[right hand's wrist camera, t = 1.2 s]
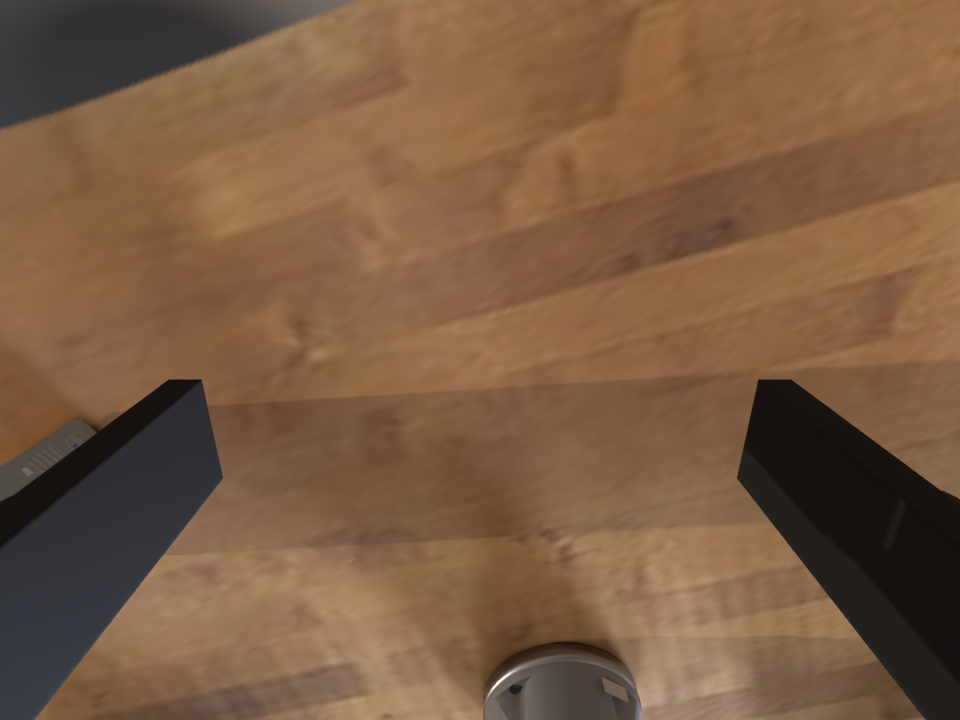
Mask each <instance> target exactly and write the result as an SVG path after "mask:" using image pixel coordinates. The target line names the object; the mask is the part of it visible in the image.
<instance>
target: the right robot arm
mask: <svg viewBox="0 0 960 720" xmlns="http://www.w3.org/2000/svg"><path fill="white" fill-rule="evenodd" d="M222 479H223V476H222V471H221V467H220V462H219V458H218V453H217V448H216V444H215V439H214V435H213V430H212V426H211V421H210V416H209V412H208V407H207V403H206V398H205V393H204V389H203V384H202V380H168V381H166V382H165V383H164V384H162V385H161V386H160V387H158V388H157V389H156V390H154V391H153V392H152V393H150V394H149V395H147V396H146V397H145V398H143V399H142V400H141V401H139V402H138V403H137V404H135V405H134V406H133V407H131V408H130V409H129V410H127V411H126V412H125V413H123V414H122V415H121V416H119V417H118V418H116V419H115V420H114V421H112V422H111V423H110V424H108V425H107V426H106V427H104V428H103V429H102V430H100V431H99V432H98V433H96V434H95V435H94V436H92V437H91V438H90V439H88V440H87V441H86V442H84V443H83V444H81V445H80V446H79V447H77V448H76V449H75V450H73V451H72V452H71V453H69V454H68V455H67V456H65V457H64V458H63V459H61V460H60V461H59V462H57V463H56V464H55V465H53V466H52V467H50V468H49V469H48V470H46V471H45V472H44V473H42V474H41V475H40V476H38V477H37V478H36V479H34V480H33V481H32V482H30V483H29V484H28V485H26V486H25V487H24V488H22V489H21V490H19V491H18V492H17V493H15V494H14V495H12V496H10V497H8V498H6V499H4V500H2V501H0V720H35V718H36V717H37V716H38V715H39V713H40V712H41V711H42V709H43V708H44V707H45V706H46V704H47V703H48V702H49V701H50V699H51V698H52V697H53V695H54V694H55V693H56V692H57V690H58V689H59V688H60V686H61V685H62V684H63V683H64V681H65V680H66V679H67V677H68V676H69V675H70V674H71V672H72V671H73V670H74V668H75V667H76V666H77V665H78V663H79V662H80V661H81V660H82V658H83V657H84V656H85V654H86V653H87V652H88V651H89V649H90V648H91V647H92V645H93V644H94V643H95V642H96V640H97V639H98V638H99V636H100V635H101V634H102V633H103V631H104V630H105V629H106V627H107V626H108V625H109V624H110V622H111V621H112V620H113V618H114V617H115V616H116V615H117V613H118V612H119V611H120V610H121V608H122V607H123V606H124V604H125V603H126V602H127V601H128V599H129V598H130V597H131V595H132V594H133V593H134V592H135V590H136V589H137V588H138V586H139V585H140V584H141V583H142V581H143V580H144V579H145V577H146V576H147V575H148V574H149V572H150V571H151V570H152V568H153V567H154V566H155V565H156V563H157V562H158V561H159V560H160V558H161V557H162V556H163V554H164V553H165V552H166V551H167V549H168V548H169V547H170V545H171V544H172V543H173V542H174V540H175V539H176V538H177V536H178V535H179V534H180V533H181V531H182V530H183V529H184V527H185V526H186V525H187V524H188V522H189V521H190V520H191V519H192V517H193V516H194V515H195V513H196V512H197V511H198V510H199V508H200V507H201V506H202V504H203V503H204V502H205V501H206V499H207V498H208V497H209V495H210V494H211V493H212V492H213V490H214V489H215V488H216V486H217V485H218V484H219V483H220V481H221V480H222ZM737 479H738V480H739V481H740V483H741V484H742V485H743V486H744V488H745V489H746V490H747V492H748V493H749V494H750V495H751V497H752V498H753V499H754V501H755V502H756V503H757V504H758V506H759V507H760V508H761V510H762V511H763V512H764V513H765V515H766V516H767V517H768V519H769V520H770V521H771V522H772V524H773V525H774V526H775V527H776V529H777V530H778V531H779V533H780V534H781V535H782V536H783V538H784V539H785V540H786V542H787V543H788V544H789V545H790V547H791V548H792V549H793V551H794V552H795V553H796V554H797V556H798V557H799V558H800V560H801V561H802V562H803V563H804V565H805V566H806V567H807V568H808V570H809V571H810V572H811V574H812V575H813V576H814V577H815V579H816V580H817V581H818V583H819V584H820V585H821V586H822V588H823V589H824V590H825V592H826V593H827V594H828V595H829V597H830V598H831V599H832V601H833V602H834V603H835V604H836V606H837V607H838V608H839V610H840V611H841V612H842V613H843V615H844V616H845V617H846V618H847V620H848V621H849V622H850V624H851V625H852V626H853V627H854V629H855V630H856V631H857V633H858V634H859V635H860V636H861V638H862V639H863V640H864V642H865V643H866V644H867V645H868V647H869V648H870V649H871V651H872V652H873V653H874V654H875V656H876V657H877V658H878V660H879V661H880V662H881V663H882V665H883V666H884V667H885V668H886V670H887V671H888V672H889V674H890V675H891V676H892V677H893V679H894V680H895V681H896V683H897V684H898V685H899V686H900V688H901V689H902V690H903V692H904V693H905V694H906V695H907V697H908V698H909V699H910V701H911V702H912V703H913V704H914V706H915V707H916V708H917V709H918V711H919V712H920V713H921V715H922V716H923V717H924V718H925V720H960V499H959V498H957V497H955V496H953V495H951V494H949V493H947V492H945V491H941V490H939V489H938V488H936V487H935V486H934V485H932V484H931V483H930V482H928V481H927V480H926V479H924V478H923V477H922V476H920V475H919V474H918V473H916V472H915V471H914V470H912V469H911V468H910V467H908V466H907V465H905V464H904V463H903V462H901V461H900V460H899V459H897V458H896V457H895V456H893V455H892V454H891V453H889V452H888V451H887V450H885V449H884V448H883V447H881V446H880V445H879V444H877V443H876V442H874V441H873V440H872V439H870V438H869V437H868V436H866V435H865V434H864V433H862V432H861V431H860V430H858V429H857V428H856V427H854V426H853V425H852V424H850V423H849V422H848V421H846V420H845V419H844V418H842V417H841V416H839V415H838V414H837V413H835V412H834V411H833V410H831V409H830V408H829V407H827V406H826V405H825V404H823V403H822V402H821V401H819V400H818V399H817V398H815V397H814V396H813V395H811V394H810V393H808V392H807V391H806V390H804V389H803V388H802V387H800V386H799V385H798V384H796V383H795V382H794V381H792V380H758V384H757V389H756V393H755V398H754V403H753V407H752V412H751V416H750V421H749V426H748V430H747V435H746V439H745V444H744V448H743V453H742V458H741V462H740V467H739V471H738V476H737ZM484 720H641V703H640V699H639V696H638V692H637V689H636V685H635V682H634V679H633V677H632V675H631V673H630V672H629V670H628V669H627V668H626V667H625V666H624V664H622V663H621V662H620V661H619V660H618V659H616V658H615V657H613V656H612V655H610V654H608V653H606V652H604V651H602V650H599V649H596V648H593V647H589V646H584V645H578V644H550V645H544V646H539V647H535V648H532V649H528V650H526V651H523V652H521V653H519V654H517V655H515V656H513V657H511V658H510V659H508V660H507V661H505V662H504V663H503V664H501V665H500V666H499V667H498V668H497V669H496V670H495V671H494V672H493V674H492V675H491V677H490V678H489V680H488V682H487V684H486V687H485V691H484Z"/></svg>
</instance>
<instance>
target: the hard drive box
mask: <svg viewBox="0 0 960 720" xmlns="http://www.w3.org/2000/svg"><path fill="white" fill-rule="evenodd" d="M96 433H97V432H96V431H94V430H93V429H92V428H91V427H90V426H88V425H87V424H86V423H85V422H84V421H82V420H81V419H80V418H75V419H73V420H72V421H70V422H68V423H67V424H65V425H64V426H62V427H61V428H59V429H58V430H56V431H54V432H53V433H51V434H50V435H48V436H47V437H45V438H44V439H42V440H41V441H39V442H38V443H36V444H35V445H33V446H32V447H30V448H29V449H27V450H26V451H24V452H22V453H21V454H19V455H18V456H16V457H15V458H13V459H12V460H10V461H9V462H7V463H6V464H4V465H3V466H1V467H0V501H2V500H4V499H6V498H8V497H10V496H12V495H14V494H15V493H17V492H18V491H19V490H21V489H22V488H24V487H25V486H26V485H28V484H29V483H30V482H32V481H33V480H34V479H36V478H37V477H38V476H40V475H41V474H42V473H44V472H45V471H46V470H48V469H49V468H50V467H52V466H53V465H55V464H56V463H57V462H59V461H60V460H61V459H63V458H64V457H65V456H67V455H68V454H69V453H71V452H72V451H73V450H75V449H76V448H77V447H79V446H80V445H81V444H83V443H84V442H86V441H87V440H88V439H90V438H91V437H92V436H94V435H95V434H96Z"/></svg>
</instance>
